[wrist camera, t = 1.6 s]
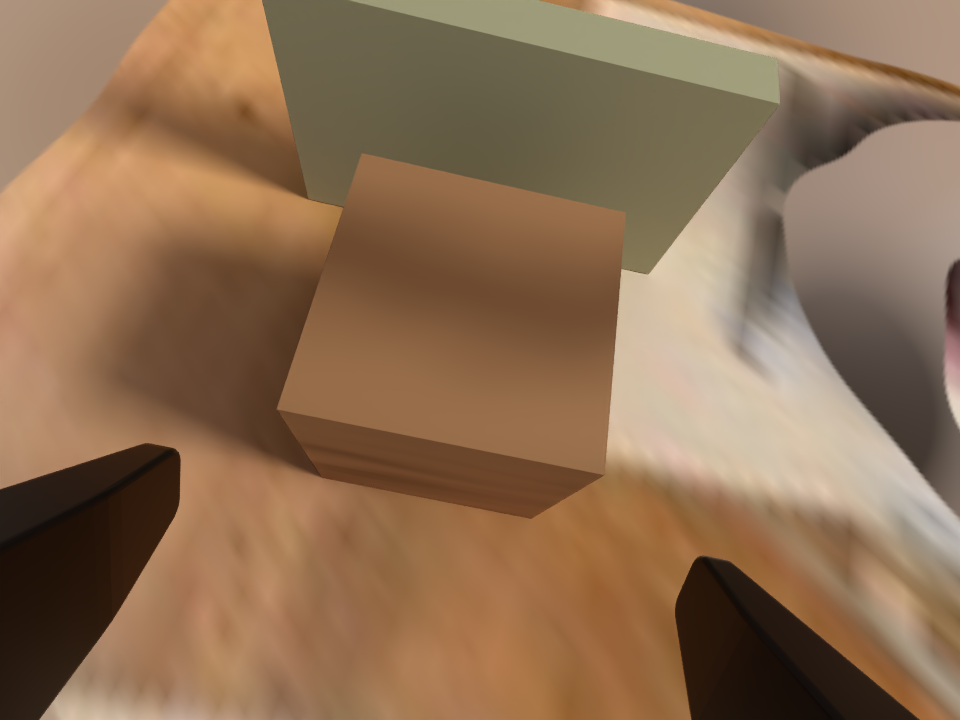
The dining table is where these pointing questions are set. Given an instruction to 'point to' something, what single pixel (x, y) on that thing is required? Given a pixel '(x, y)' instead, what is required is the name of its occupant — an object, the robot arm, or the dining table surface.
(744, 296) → the dining table surface
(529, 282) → the walnut block
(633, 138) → the stop board
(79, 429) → the dining table surface
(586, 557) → the dining table surface
